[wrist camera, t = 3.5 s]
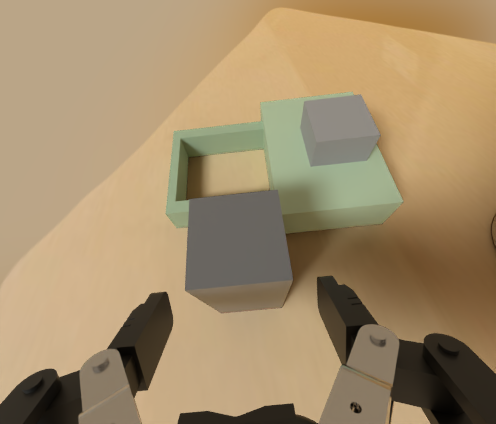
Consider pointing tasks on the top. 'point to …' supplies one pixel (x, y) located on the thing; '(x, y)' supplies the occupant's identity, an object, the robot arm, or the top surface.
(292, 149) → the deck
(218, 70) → the top surface
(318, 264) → the top surface
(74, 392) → the robot arm
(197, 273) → the tall slate pillar
